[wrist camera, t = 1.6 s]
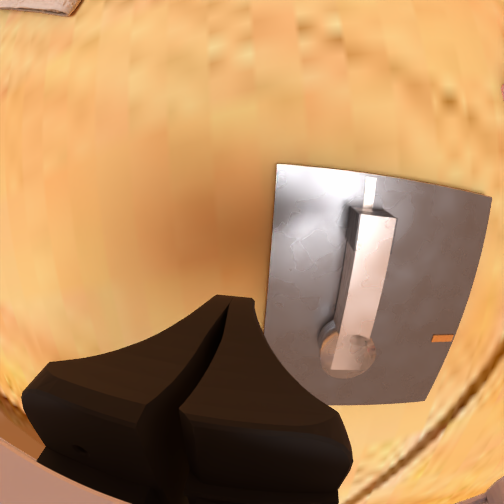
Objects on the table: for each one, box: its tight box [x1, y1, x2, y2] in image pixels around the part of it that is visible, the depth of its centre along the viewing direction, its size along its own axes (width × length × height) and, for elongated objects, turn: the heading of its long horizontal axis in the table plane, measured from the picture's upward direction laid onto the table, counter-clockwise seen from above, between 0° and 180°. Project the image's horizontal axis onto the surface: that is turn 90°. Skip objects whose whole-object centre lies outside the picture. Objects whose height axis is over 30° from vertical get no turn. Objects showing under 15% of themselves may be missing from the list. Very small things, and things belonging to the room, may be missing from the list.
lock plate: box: [264, 163, 492, 405], centre depth 20 cm, size 15×18×1 cm
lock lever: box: [318, 206, 398, 379], centre depth 18 cm, size 11×4×2 cm, turn 177°
